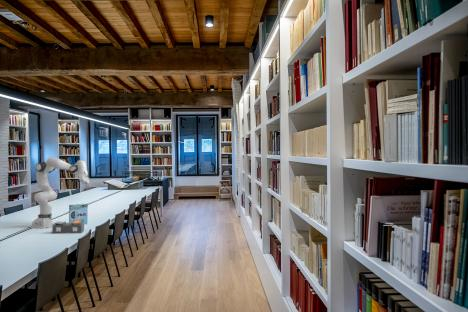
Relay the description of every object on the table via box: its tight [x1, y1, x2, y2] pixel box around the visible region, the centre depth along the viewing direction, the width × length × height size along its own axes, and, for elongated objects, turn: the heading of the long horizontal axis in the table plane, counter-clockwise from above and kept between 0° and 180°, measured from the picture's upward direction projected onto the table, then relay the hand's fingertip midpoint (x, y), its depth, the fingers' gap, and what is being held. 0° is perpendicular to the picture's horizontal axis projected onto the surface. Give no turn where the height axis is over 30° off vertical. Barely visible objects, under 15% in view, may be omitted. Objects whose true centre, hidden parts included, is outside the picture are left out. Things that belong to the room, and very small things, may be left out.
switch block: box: [51, 221, 85, 234], centre depth 353 cm, size 28×10×10 cm, turn 98°
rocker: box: [73, 220, 81, 225], centre depth 354 cm, size 7×6×2 cm
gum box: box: [68, 203, 89, 225], centre depth 394 cm, size 20×5×23 cm, turn 123°
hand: (85, 186), depth 361 cm, fingers open, 8 cm apart
